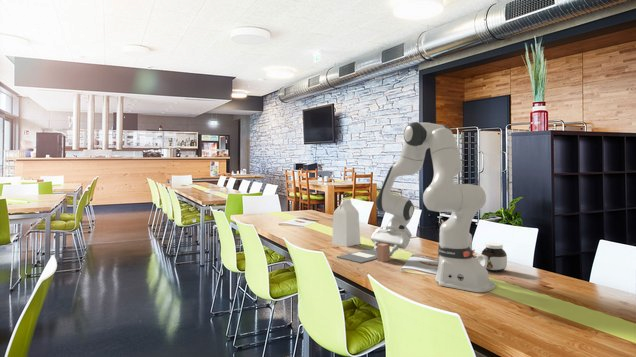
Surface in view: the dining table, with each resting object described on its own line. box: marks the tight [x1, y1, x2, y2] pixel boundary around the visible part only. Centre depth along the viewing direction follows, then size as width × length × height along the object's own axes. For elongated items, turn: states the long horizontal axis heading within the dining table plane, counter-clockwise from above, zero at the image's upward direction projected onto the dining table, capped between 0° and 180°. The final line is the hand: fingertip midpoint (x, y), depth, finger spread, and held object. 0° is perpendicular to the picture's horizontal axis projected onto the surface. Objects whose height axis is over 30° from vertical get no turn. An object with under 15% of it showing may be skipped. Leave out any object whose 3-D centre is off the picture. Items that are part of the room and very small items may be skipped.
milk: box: [331, 198, 361, 247], centre depth 233 cm, size 12×12×26 cm
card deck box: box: [376, 243, 391, 263], centre depth 193 cm, size 4×5×8 cm
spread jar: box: [474, 242, 508, 273], centre depth 175 cm, size 12×11×12 cm
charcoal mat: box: [336, 249, 393, 264], centre depth 202 cm, size 16×24×1 cm, turn 133°
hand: (382, 251), depth 193 cm, fingers open, 8 cm apart
